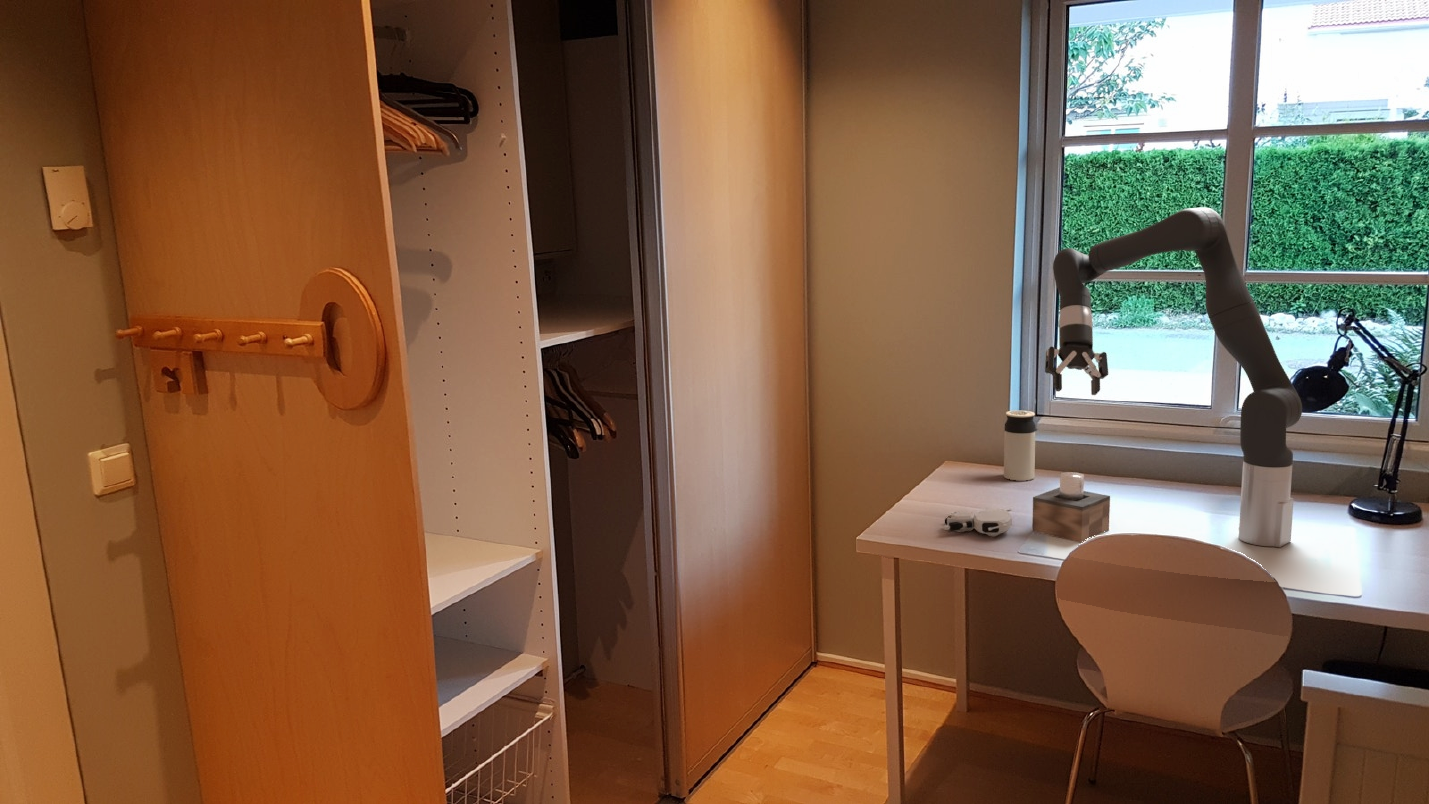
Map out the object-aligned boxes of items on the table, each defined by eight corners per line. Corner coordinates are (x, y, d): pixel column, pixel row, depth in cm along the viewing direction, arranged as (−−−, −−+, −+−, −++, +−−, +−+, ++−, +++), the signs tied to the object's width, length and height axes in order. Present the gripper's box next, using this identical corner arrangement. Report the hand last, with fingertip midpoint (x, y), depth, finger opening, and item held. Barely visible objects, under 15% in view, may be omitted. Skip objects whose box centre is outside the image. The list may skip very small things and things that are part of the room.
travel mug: (1005, 481, 273) (1006, 415, 270) (1002, 474, 281) (1003, 410, 278) (1036, 481, 272) (1037, 415, 269) (1032, 474, 280) (1033, 410, 276)
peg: (1087, 508, 229) (1088, 474, 227) (1075, 513, 225) (1076, 478, 224) (1066, 504, 232) (1067, 471, 231) (1055, 508, 229) (1056, 475, 228)
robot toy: (941, 540, 229) (1010, 541, 223) (939, 521, 228) (1009, 521, 223) (949, 525, 240) (1014, 525, 235) (947, 506, 240) (1013, 506, 234)
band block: (1108, 530, 229) (1110, 495, 228) (1081, 542, 221) (1082, 507, 220) (1060, 519, 238) (1061, 486, 237) (1032, 531, 230) (1033, 497, 229)
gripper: (1051, 319, 240) (1052, 384, 235) (1111, 325, 240) (1113, 390, 235) (1040, 331, 247) (1041, 394, 242) (1098, 336, 247) (1100, 400, 242)
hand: (1076, 392), depth 238 cm, fingers open, 8 cm apart
